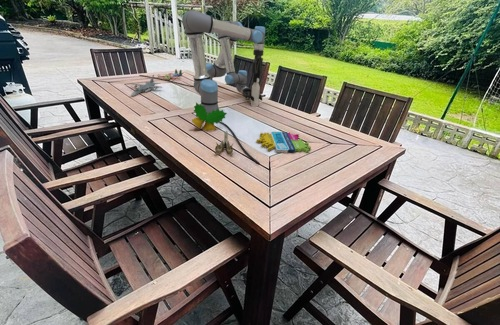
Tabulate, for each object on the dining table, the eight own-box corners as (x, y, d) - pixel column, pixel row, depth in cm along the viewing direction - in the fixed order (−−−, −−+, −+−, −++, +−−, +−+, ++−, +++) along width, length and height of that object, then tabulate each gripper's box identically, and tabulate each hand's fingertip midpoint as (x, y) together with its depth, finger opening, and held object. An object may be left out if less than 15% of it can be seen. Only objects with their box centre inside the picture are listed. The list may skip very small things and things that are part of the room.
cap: (252, 81, 204) (252, 78, 203) (254, 80, 208) (254, 77, 207) (258, 82, 203) (258, 79, 202) (259, 81, 207) (260, 78, 206)
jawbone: (234, 135, 144) (233, 125, 135) (233, 160, 138) (232, 151, 129) (217, 135, 144) (216, 125, 135) (216, 160, 138) (214, 150, 129)
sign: (313, 150, 142) (258, 149, 139) (312, 153, 143) (258, 152, 140) (301, 132, 164) (254, 130, 161) (301, 134, 165) (254, 133, 162)
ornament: (218, 133, 171) (224, 110, 169) (221, 134, 163) (227, 111, 161) (186, 125, 162) (192, 101, 160) (189, 126, 155) (195, 101, 153)
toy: (190, 70, 289) (177, 74, 263) (190, 77, 293) (178, 82, 267) (167, 67, 294) (152, 71, 268) (168, 74, 298) (153, 79, 272)
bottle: (249, 104, 216) (250, 78, 206) (256, 103, 219) (258, 78, 208) (252, 106, 211) (254, 80, 201) (259, 105, 214) (262, 80, 203)
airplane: (124, 86, 239) (122, 75, 233) (160, 84, 252) (158, 73, 247) (129, 98, 210) (126, 86, 205) (168, 95, 223) (167, 83, 218)
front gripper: (257, 51, 186) (255, 84, 197) (268, 49, 199) (265, 80, 211) (248, 49, 189) (246, 82, 200) (259, 48, 202) (257, 79, 214)
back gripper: (256, 95, 231) (268, 102, 213) (235, 96, 224) (246, 104, 206) (256, 86, 228) (269, 93, 210) (236, 87, 220) (246, 95, 202)
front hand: (256, 81), depth 206 cm, fingers closed on cap, 4 cm apart
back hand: (257, 99), depth 208 cm, fingers closed on bottle, 7 cm apart
